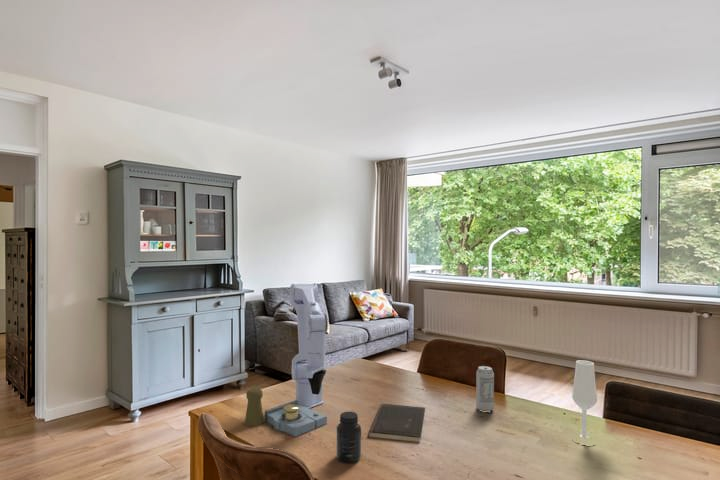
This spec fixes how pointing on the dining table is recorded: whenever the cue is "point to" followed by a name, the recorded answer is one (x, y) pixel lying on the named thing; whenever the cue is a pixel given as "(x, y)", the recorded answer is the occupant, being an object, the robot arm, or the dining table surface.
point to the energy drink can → (485, 388)
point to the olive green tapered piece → (254, 408)
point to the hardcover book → (398, 422)
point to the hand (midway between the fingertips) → (315, 393)
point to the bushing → (291, 412)
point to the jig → (304, 423)
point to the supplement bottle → (348, 438)
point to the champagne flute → (584, 389)
